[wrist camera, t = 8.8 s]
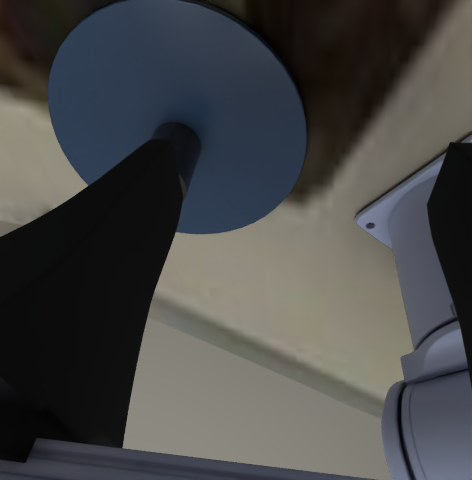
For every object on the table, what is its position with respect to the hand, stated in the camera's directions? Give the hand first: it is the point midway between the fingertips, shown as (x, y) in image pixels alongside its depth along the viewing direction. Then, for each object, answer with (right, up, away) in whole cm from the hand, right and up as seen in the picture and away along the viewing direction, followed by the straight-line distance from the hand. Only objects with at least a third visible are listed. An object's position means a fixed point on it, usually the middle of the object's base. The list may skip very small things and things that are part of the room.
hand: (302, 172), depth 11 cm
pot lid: (-5, +4, +10) cm, 12 cm away
